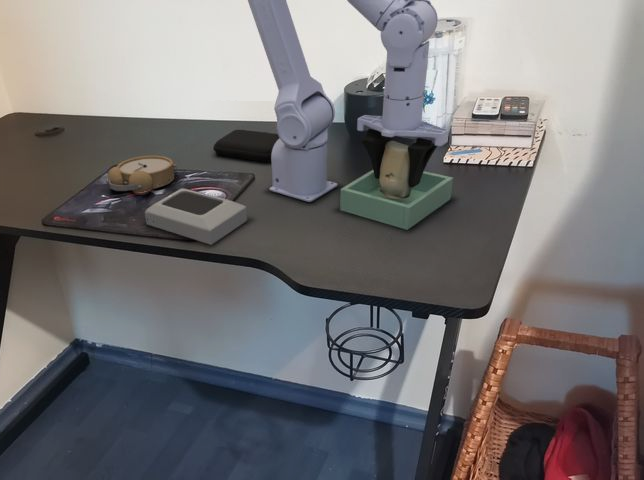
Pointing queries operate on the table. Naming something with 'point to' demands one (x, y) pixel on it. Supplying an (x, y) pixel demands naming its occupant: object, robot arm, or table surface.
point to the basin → (396, 200)
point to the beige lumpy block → (395, 171)
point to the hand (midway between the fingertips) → (396, 180)
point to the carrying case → (247, 145)
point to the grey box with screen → (196, 215)
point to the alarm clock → (141, 174)
